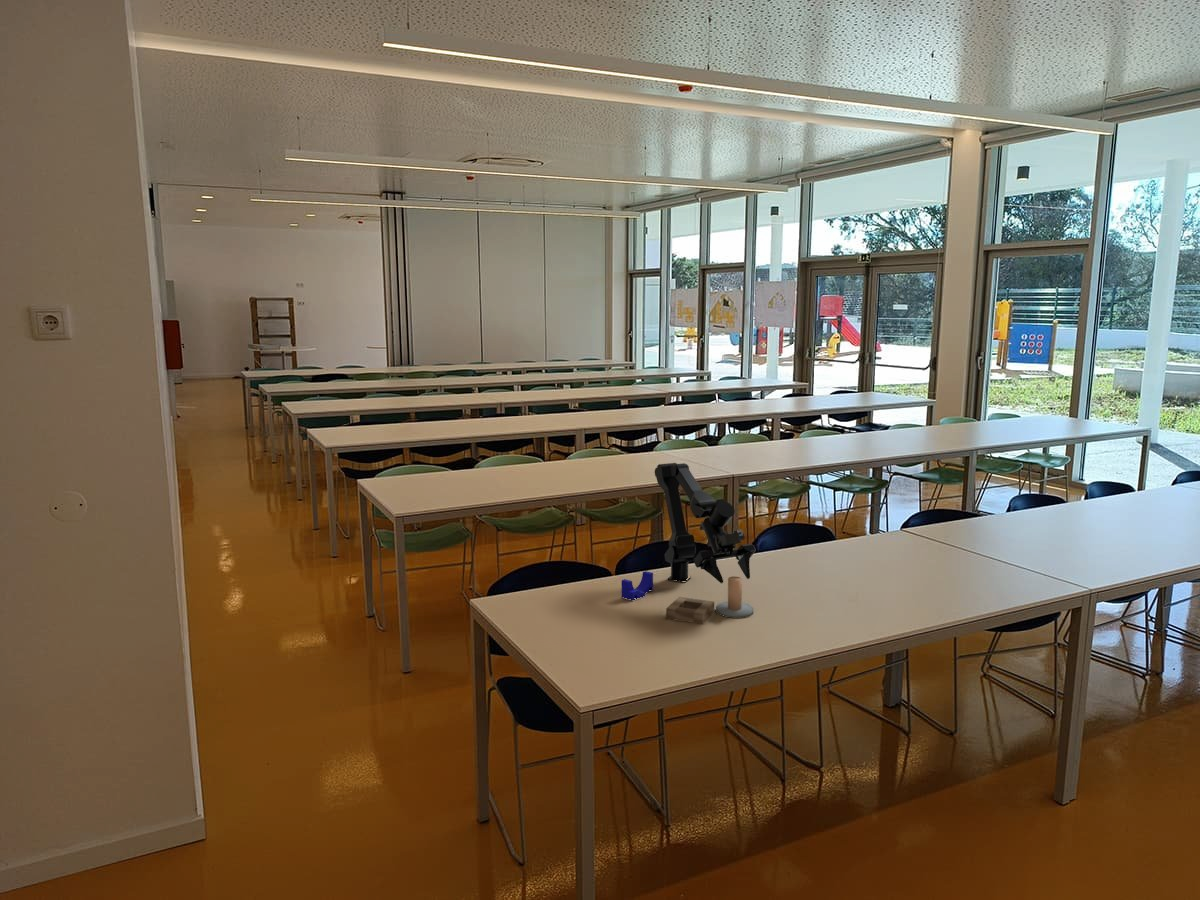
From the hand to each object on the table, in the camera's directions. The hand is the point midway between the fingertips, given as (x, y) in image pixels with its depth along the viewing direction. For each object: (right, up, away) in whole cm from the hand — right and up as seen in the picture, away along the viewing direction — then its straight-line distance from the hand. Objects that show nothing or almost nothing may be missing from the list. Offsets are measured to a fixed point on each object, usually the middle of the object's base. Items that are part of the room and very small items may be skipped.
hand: (735, 580), depth 239 cm
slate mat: (0, -9, +2) cm, 9 cm away
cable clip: (-27, -8, +17) cm, 33 cm away
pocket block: (-13, -10, -1) cm, 17 cm away
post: (0, -8, +2) cm, 8 cm away
